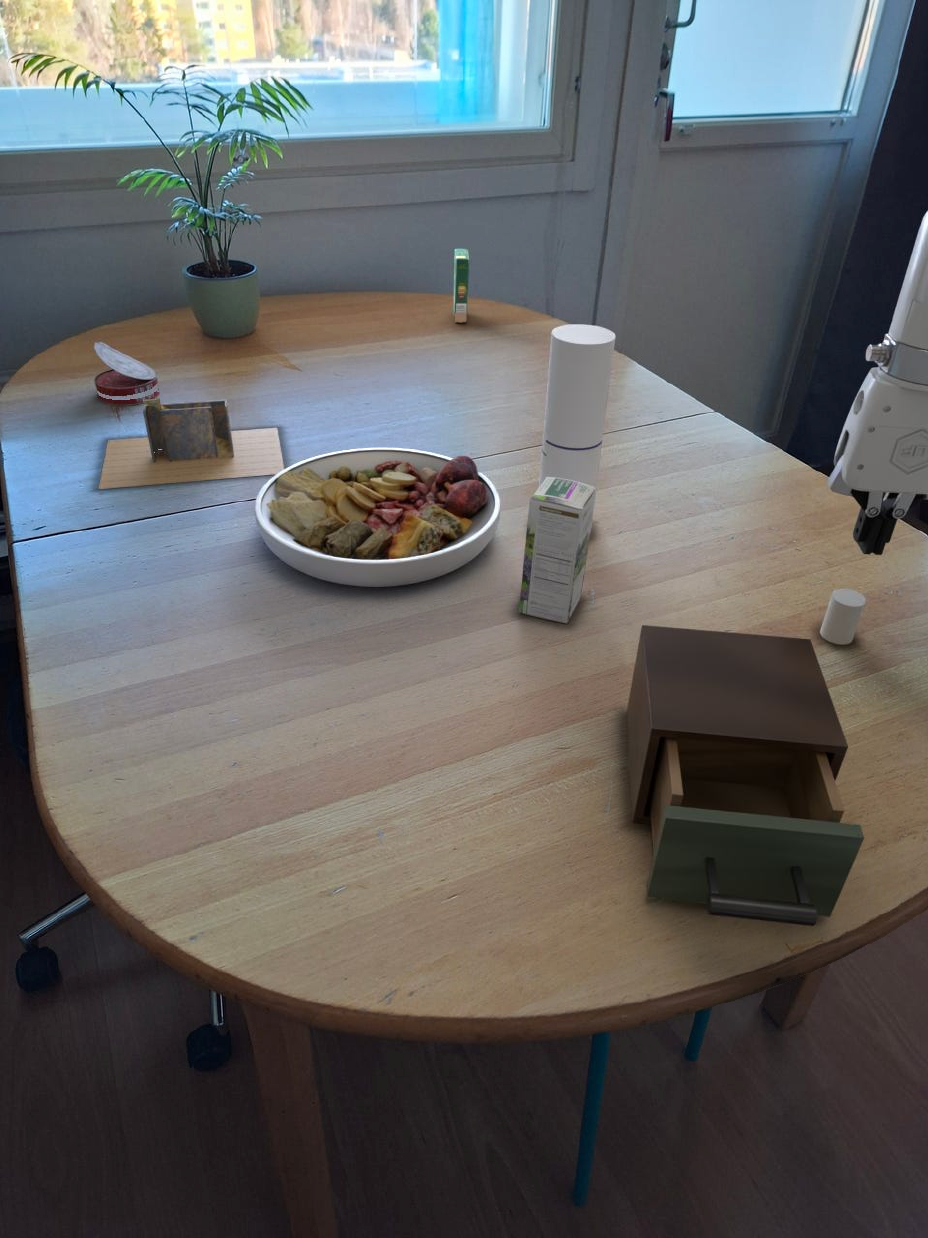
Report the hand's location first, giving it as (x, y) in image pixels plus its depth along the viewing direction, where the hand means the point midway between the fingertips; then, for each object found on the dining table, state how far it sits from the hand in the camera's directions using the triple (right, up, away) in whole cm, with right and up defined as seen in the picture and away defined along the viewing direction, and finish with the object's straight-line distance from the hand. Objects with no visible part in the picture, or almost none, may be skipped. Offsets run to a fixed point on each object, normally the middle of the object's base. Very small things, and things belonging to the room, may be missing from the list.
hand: (867, 547), depth 85 cm
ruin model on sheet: (-79, +17, +43) cm, 91 cm away
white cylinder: (+1, -9, +10) cm, 14 cm away
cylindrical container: (-26, +5, +28) cm, 39 cm away
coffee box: (-40, +57, +101) cm, 122 cm away
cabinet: (-17, -21, -7) cm, 28 cm away
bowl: (-50, +4, +26) cm, 56 cm away
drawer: (-18, -26, -17) cm, 36 cm away
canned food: (-95, +30, +61) cm, 117 cm away
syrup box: (-29, -6, +14) cm, 33 cm away
